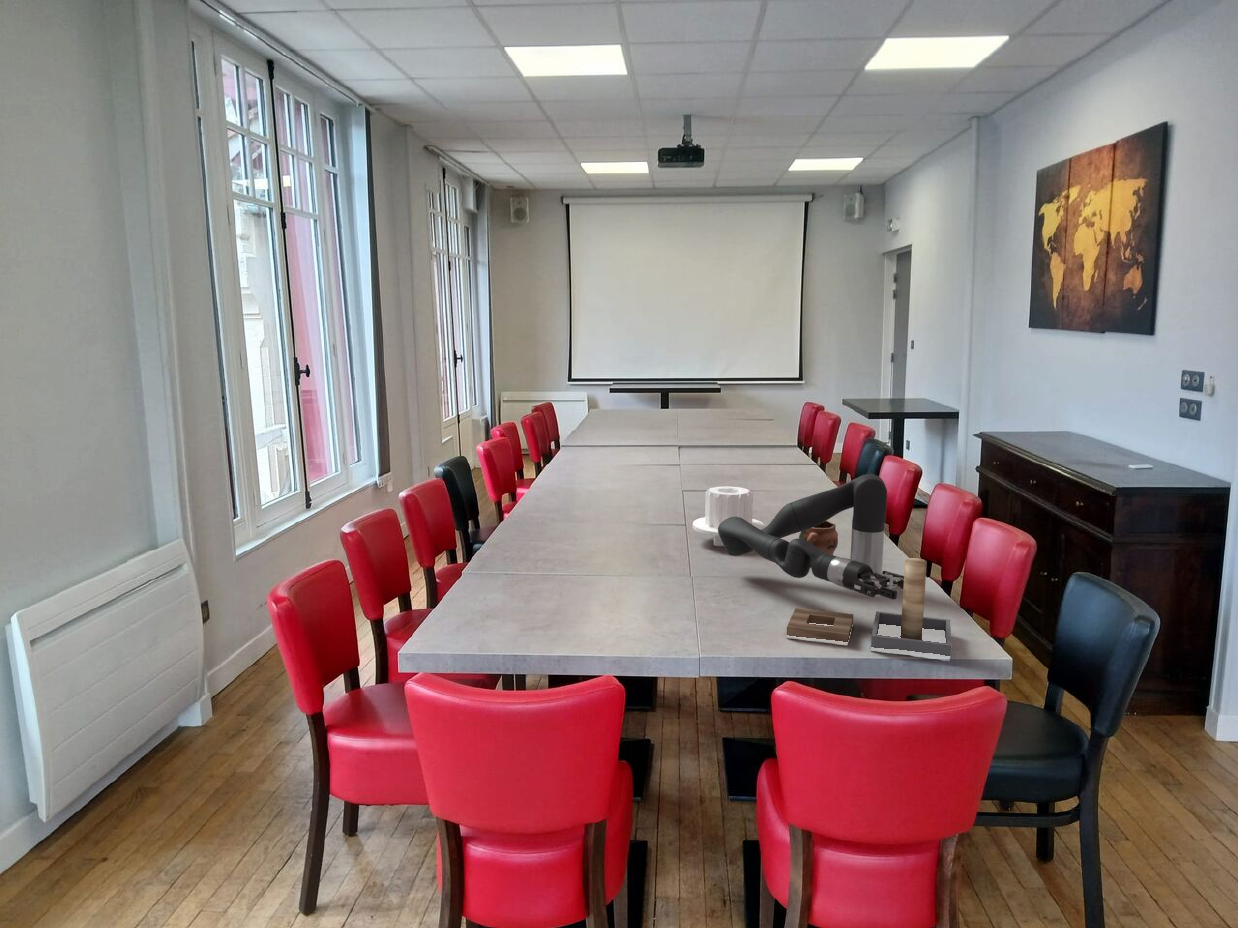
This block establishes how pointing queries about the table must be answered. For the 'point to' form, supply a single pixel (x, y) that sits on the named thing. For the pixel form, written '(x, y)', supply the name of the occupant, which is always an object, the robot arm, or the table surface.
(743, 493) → the lamp base
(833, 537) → the decorative planter
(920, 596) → the beech dowel
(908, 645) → the slate grey tray
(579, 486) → the table surface
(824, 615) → the walnut socket block
